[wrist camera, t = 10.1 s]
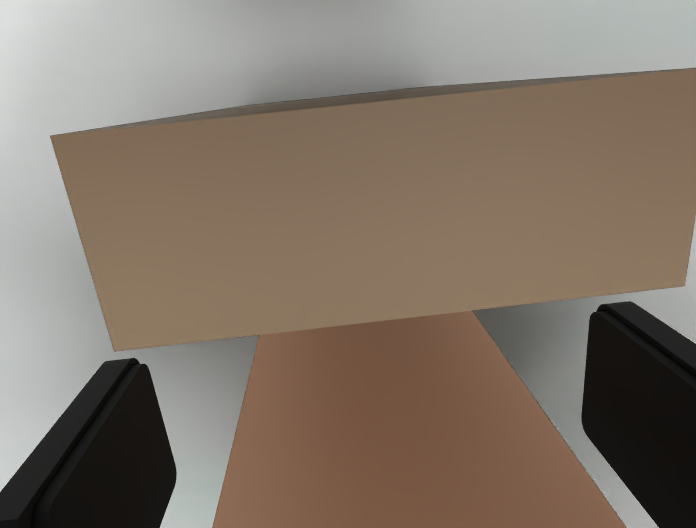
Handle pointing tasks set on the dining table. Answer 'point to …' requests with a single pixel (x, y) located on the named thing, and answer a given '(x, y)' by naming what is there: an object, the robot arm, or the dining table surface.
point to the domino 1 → (385, 205)
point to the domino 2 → (399, 435)
